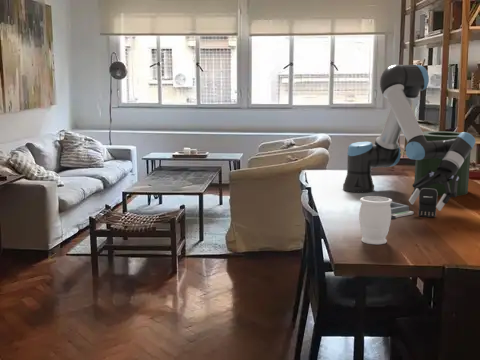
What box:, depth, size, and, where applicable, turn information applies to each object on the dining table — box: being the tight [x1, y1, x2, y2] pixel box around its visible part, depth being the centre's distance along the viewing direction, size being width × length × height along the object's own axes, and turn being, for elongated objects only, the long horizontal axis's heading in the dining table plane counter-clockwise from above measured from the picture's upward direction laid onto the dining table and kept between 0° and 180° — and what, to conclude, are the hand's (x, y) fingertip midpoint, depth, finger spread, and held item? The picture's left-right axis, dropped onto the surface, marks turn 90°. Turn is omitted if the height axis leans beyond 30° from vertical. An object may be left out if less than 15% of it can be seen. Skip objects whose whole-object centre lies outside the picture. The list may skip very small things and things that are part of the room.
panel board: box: [390, 201, 414, 218], centre depth 243 cm, size 14×12×3 cm
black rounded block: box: [418, 188, 438, 218], centre depth 235 cm, size 7×4×11 cm, turn 69°
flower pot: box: [413, 130, 473, 197], centre depth 286 cm, size 25×25×28 cm
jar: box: [358, 195, 393, 246], centre depth 200 cm, size 11×10×15 cm
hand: (423, 205), depth 234 cm, fingers open, 13 cm apart
